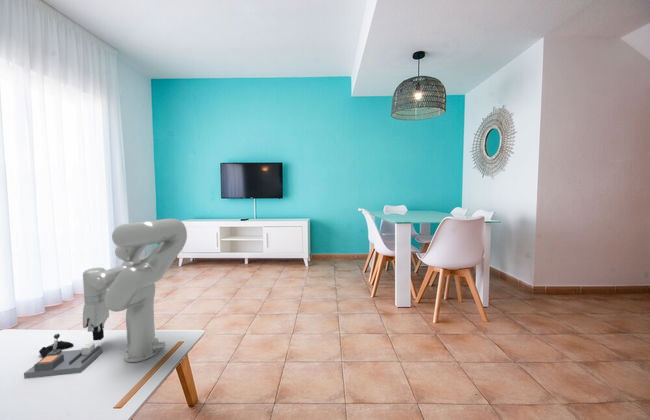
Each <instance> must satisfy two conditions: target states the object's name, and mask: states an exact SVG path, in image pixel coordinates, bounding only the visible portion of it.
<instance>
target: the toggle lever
mask: <svg viewBox="0 0 650 420" xmlns="http://www.w3.org/2000/svg"><path fill="white" fill-rule="evenodd" d="M60 336H61V335H60V333H56V334H54V335H53V338H54V340H53V343H54V346H53V351H55V350H56V348H57V342H58V341H59V338H60Z"/></svg>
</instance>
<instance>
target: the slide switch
mask: <svg viewBox="0 0 650 420" xmlns="http://www.w3.org/2000/svg"><path fill="white" fill-rule="evenodd" d="M95 345H96V343H86V344H84V345H83V346H81V349H80V350H81V352H82V355H88V354H89V353H90V352H92V351H93V350H94V349H95V348H96V346H95Z"/></svg>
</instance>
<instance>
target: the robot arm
mask: <svg viewBox="0 0 650 420" xmlns="http://www.w3.org/2000/svg"><path fill="white" fill-rule="evenodd" d="M112 231H113V232H112V234H111V235H112V236H111V239H112V242H113V244H114V245H116V248H115V250H114V254H115V256H116V257H117V258H118V259H120V260H121V261H123V262H122V263H121V265H119V266H115V267H112V268H109V269H105V268H104V267H92V268H88V269H86V270H84V271H83V272H82V284H83V296H84V297H83V299H84V300H83V301H84V302H83V303H84V304H83V309H82V310H83V311H82V328H83V329H86V328H87V332H88V333H89V332H91V333H92V340H93V341H102V340H103V339H104V338H105V335H104V328H105V323H106V322H107V320H108V318H109V317H110V311H111V312H122V311H125V310H126V313H125V325H126V327H125V328H126V341H127V350H126V352H124V354H123V360H124V361H125V362H126V363H137V362H143V361H146V360H148V359H150V358H153V357H154V356H155V355H157V354H158V353H159V352H160V350H164V349H166V347H167V344H166V341H159V338H158V337H156V330H155V329H156V328H155V326H156V325H155V308H154V305H155V304H154V301H155V294H156V285H155V283H157V282H159V281H160V280H161V279H162V278H163V277H164V275H165V273H166V272H167V271H168V269H169V268H170V267H171V265H172V264H173V262H174V261H175V259H176V258H177V257H178V256H179V254H180V253H181V252H182V250H183V249H184V247H185V246H186V243H187V238H188V233H187V232H188V231H187V228H186V225H185V224H184V223H183V221H181V220H180V219H177V218H164V219H163V218H161V219H156V220H155V219H154V220H148V221H136V222H129V223H124V224H123V223H122V224H120V225H118V226H116V227H115V228H114V230H112ZM155 244H158V245H156V246H155V248H153V250H152V251H151V253H150V254H149V255H148V256H147V258H146V259H144V260H142V261H141V260H140V256H141V255H142V253H143V252H144V250H145V248H146V247H147V246H150V245H155Z"/></svg>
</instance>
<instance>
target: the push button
mask: <svg viewBox="0 0 650 420" xmlns="http://www.w3.org/2000/svg"><path fill="white" fill-rule="evenodd" d="M58 357H59V355H56V356H47V357H46V358H44V357H43V358H44V359H43V358H42V359H43V360H42V359H41V360H42V361H40V360H39V361H40V362H39V361H38V362H39V363H38V364H41V363H51V362H53V361H54V360H55V359H57V358H58Z"/></svg>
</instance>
